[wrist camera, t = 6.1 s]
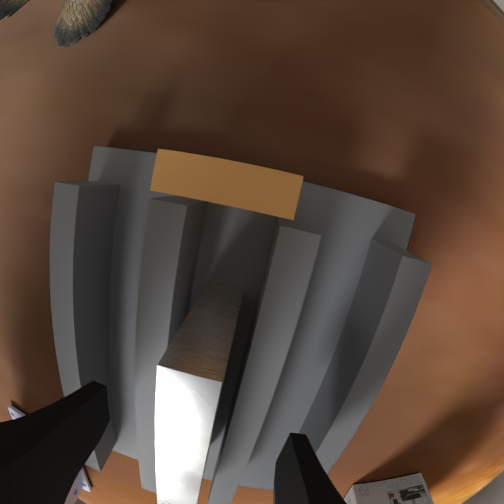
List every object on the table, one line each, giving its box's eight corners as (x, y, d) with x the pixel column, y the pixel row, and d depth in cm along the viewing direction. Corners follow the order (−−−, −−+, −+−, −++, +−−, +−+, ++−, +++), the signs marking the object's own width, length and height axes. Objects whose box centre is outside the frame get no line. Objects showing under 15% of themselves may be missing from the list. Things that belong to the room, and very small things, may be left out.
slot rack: (291, 480, 16) (294, 559, 9) (102, 435, 16) (62, 501, 9) (405, 211, 12) (515, 240, 5) (105, 148, 12) (-9, 132, 5)
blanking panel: (210, 445, 14) (191, 529, 8) (185, 439, 14) (158, 520, 8) (243, 290, 12) (221, 382, 6) (207, 282, 12) (157, 365, 6)
